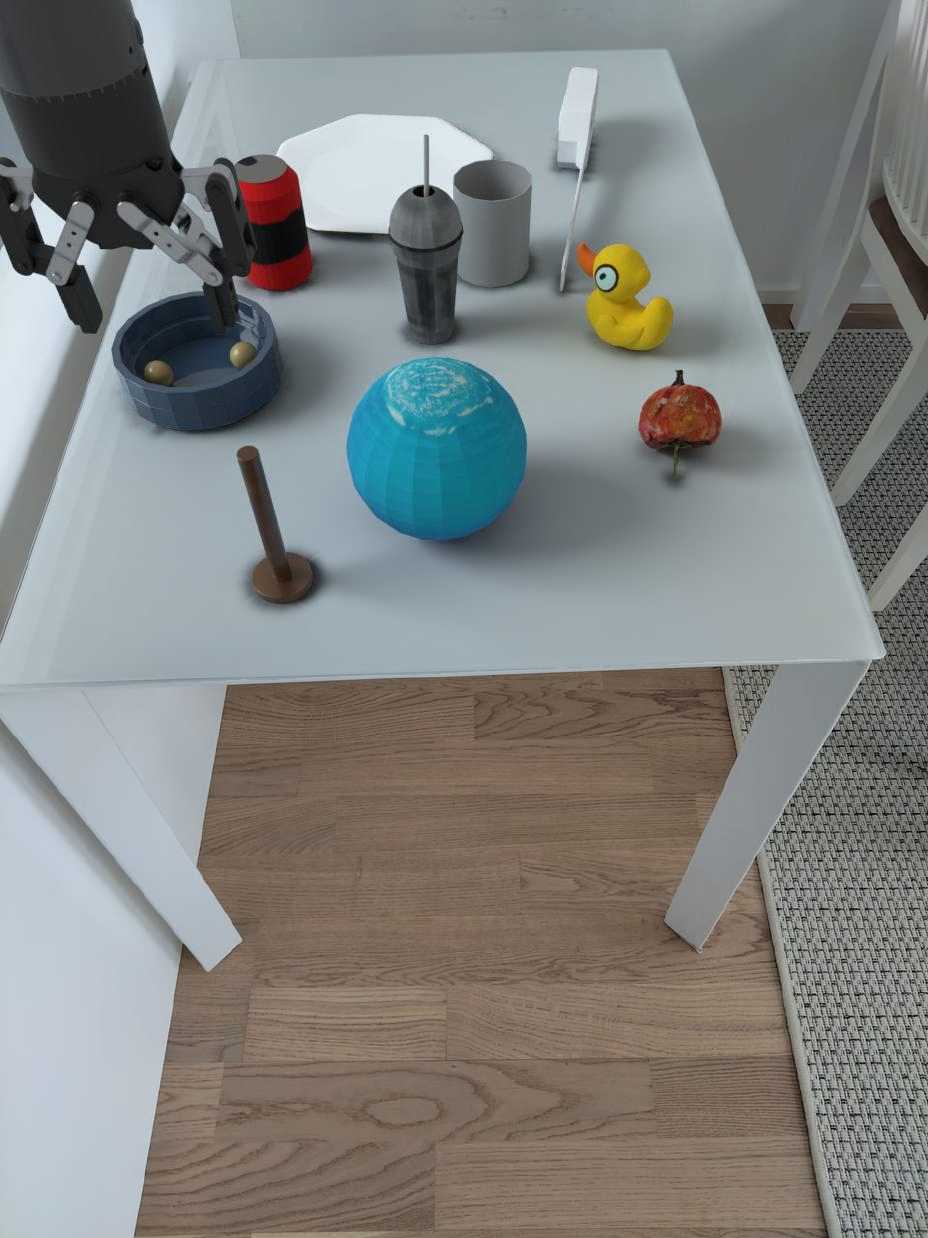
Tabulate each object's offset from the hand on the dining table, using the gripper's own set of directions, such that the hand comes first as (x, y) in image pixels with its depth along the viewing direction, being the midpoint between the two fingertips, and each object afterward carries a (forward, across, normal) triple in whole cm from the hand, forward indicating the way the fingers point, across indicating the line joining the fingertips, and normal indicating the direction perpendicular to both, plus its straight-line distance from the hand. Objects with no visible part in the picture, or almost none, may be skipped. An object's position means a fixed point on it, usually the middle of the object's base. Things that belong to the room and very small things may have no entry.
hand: (160, 326), depth 59 cm
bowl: (+24, -8, +24) cm, 35 cm away
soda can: (+25, -3, +43) cm, 50 cm away
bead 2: (+22, -4, +26) cm, 34 cm away
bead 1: (+22, -12, +23) cm, 34 cm away
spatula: (+25, +29, +58) cm, 70 cm away
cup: (+25, +21, +44) cm, 55 cm away
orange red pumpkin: (+25, +38, +15) cm, 48 cm away
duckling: (+25, +34, +31) cm, 53 cm away
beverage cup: (+25, +14, +33) cm, 43 cm away
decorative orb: (+25, +17, +7) cm, 31 cm away
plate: (+25, +6, +63) cm, 68 cm away
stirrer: (+24, +4, -1) cm, 25 cm away
